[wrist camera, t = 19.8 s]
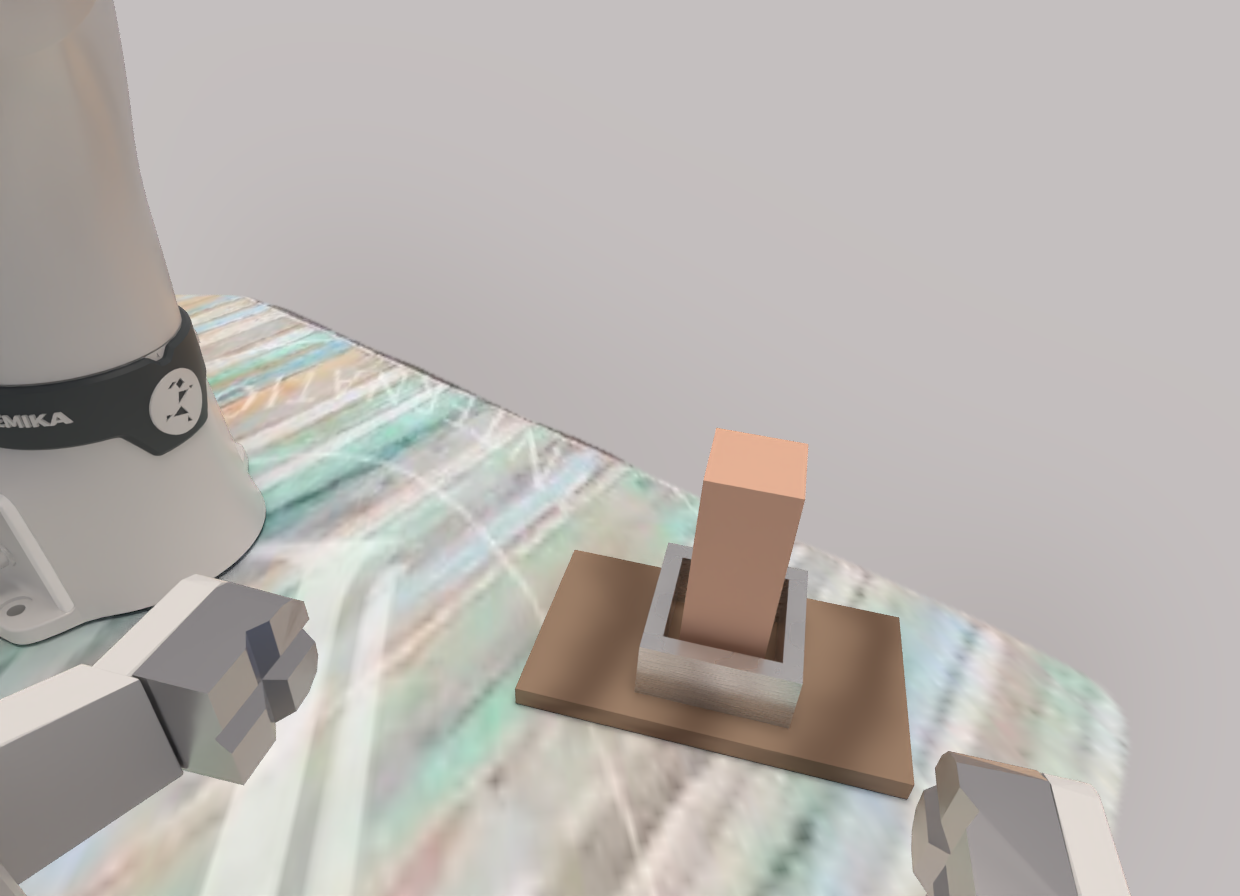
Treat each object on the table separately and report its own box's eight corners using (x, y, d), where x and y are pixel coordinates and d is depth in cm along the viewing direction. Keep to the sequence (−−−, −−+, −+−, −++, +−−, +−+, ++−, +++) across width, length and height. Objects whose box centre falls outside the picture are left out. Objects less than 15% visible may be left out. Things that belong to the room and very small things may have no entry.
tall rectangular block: (673, 673, 41) (703, 480, 33) (687, 614, 44) (716, 427, 37) (755, 692, 40) (804, 499, 32) (762, 630, 43) (808, 444, 36)
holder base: (515, 703, 40) (515, 688, 39) (574, 563, 49) (574, 549, 48) (907, 799, 37) (914, 785, 36) (893, 631, 46) (899, 617, 45)
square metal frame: (634, 691, 39) (639, 646, 37) (662, 585, 46) (668, 542, 44) (788, 728, 38) (802, 684, 36) (796, 614, 45) (808, 570, 43)
